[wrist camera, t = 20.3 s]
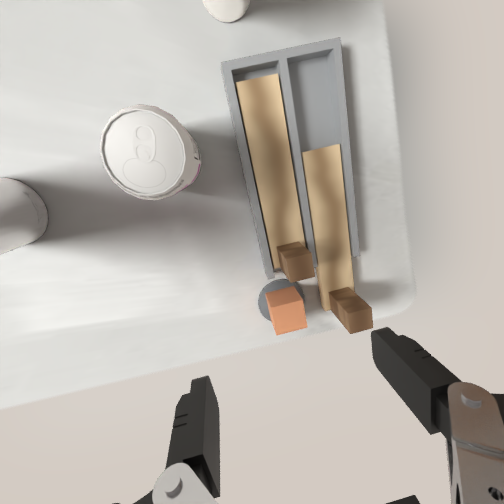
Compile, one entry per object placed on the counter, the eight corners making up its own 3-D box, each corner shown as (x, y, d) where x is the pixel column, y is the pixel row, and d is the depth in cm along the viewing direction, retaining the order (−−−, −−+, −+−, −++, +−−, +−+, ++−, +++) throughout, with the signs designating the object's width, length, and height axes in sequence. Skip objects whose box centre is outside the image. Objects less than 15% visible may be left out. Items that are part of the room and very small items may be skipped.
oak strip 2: (321, 306, 47) (344, 335, 38) (298, 153, 38) (320, 149, 30) (351, 298, 47) (379, 326, 39) (334, 144, 38) (366, 138, 30)
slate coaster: (263, 325, 47) (263, 327, 46) (253, 285, 44) (254, 287, 44) (306, 314, 47) (307, 315, 47) (299, 274, 45) (300, 275, 44)
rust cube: (265, 292, 44) (270, 307, 39) (293, 285, 44) (302, 299, 40) (270, 318, 46) (276, 335, 41) (298, 311, 46) (307, 327, 41)
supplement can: (200, 192, 39) (191, 205, 24) (141, 186, 37) (95, 197, 23) (203, 132, 36) (195, 108, 22) (140, 123, 35) (88, 93, 21)
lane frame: (265, 273, 44) (268, 279, 41) (220, 69, 34) (221, 62, 32) (352, 251, 45) (359, 255, 42) (331, 45, 35) (340, 37, 33)
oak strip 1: (272, 265, 43) (283, 284, 36) (234, 86, 35) (239, 64, 27) (304, 257, 43) (322, 274, 36) (275, 77, 35) (290, 53, 28)
